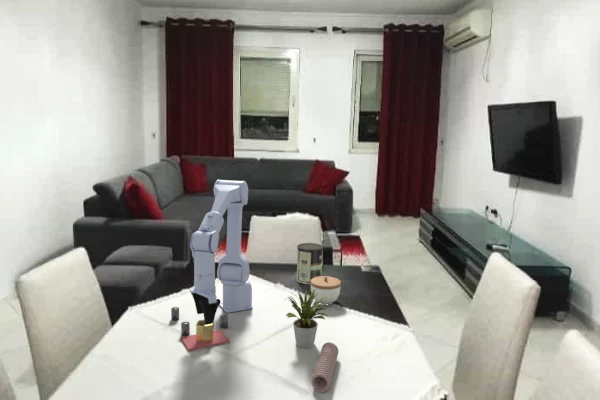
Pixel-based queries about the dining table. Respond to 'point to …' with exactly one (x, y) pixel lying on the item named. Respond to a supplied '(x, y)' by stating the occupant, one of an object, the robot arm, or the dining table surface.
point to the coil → (325, 367)
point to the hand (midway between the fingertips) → (205, 318)
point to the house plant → (306, 320)
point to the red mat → (217, 340)
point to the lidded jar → (326, 288)
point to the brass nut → (204, 331)
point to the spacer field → (186, 325)
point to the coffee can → (309, 262)
